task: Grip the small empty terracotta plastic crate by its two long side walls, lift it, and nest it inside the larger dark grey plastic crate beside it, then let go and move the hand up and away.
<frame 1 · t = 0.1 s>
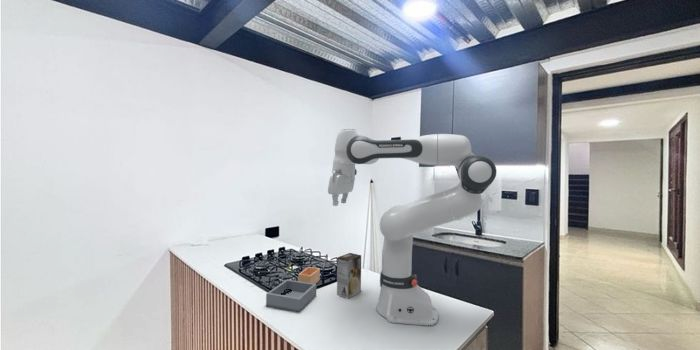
hand: (339, 204, 113), 39 cm above the counter, tool pointing down, fingers open, 8 cm apart
grey crate: (292, 301, 113), on the counter
coffee box: (348, 294, 121), on the counter
orange crate: (309, 284, 130), on the counter
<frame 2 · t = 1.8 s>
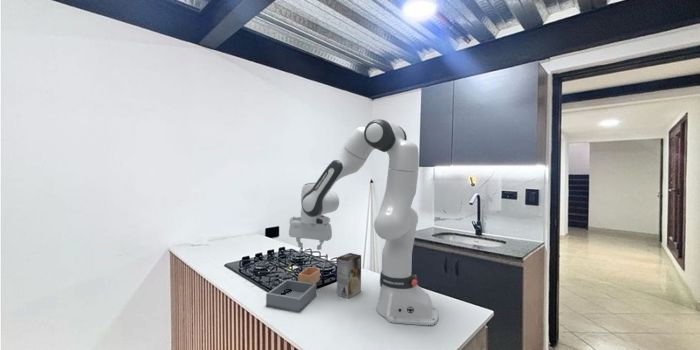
hand: (309, 248, 129), 16 cm above the counter, tool pointing down, fingers open, 8 cm apart
nothing on the counter moved.
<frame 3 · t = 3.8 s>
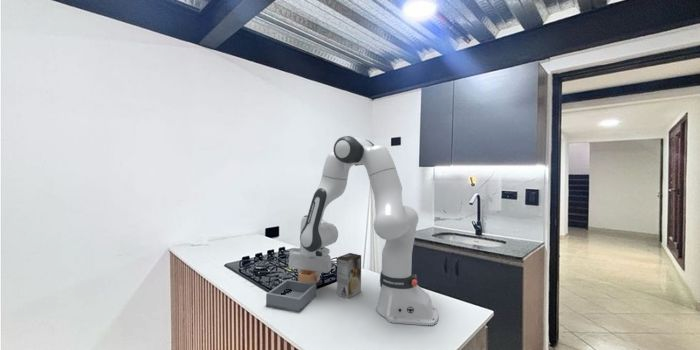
hand: (309, 279, 129), 2 cm above the counter, tool pointing down, fingers closed on orange crate, 6 cm apart
orange crate: (309, 284, 130), on the counter, touching gripper
everything else where it was.
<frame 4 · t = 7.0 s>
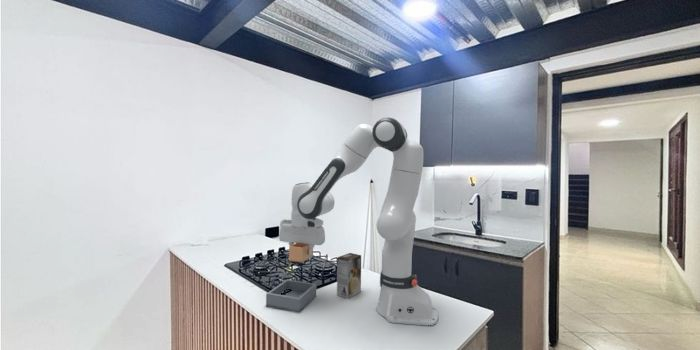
hand: (301, 253, 120), 17 cm above the counter, tool pointing down, fingers closed on orange crate, 6 cm apart
orange crate: (301, 258, 120), point 15 cm above the counter, touching gripper
everything else where it was.
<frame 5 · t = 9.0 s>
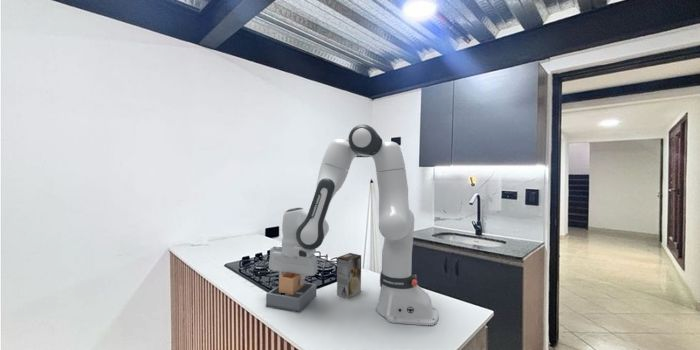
hand: (292, 283, 113), 7 cm above the counter, tool pointing down, fingers closed on orange crate, 6 cm apart
orange crate: (292, 288, 113), point 5 cm above the counter, touching gripper
everything else where it was.
when the fingers open (5 cm above the counter, at t = 10.3 s): orange crate drops 1 cm, resting on grey crate.
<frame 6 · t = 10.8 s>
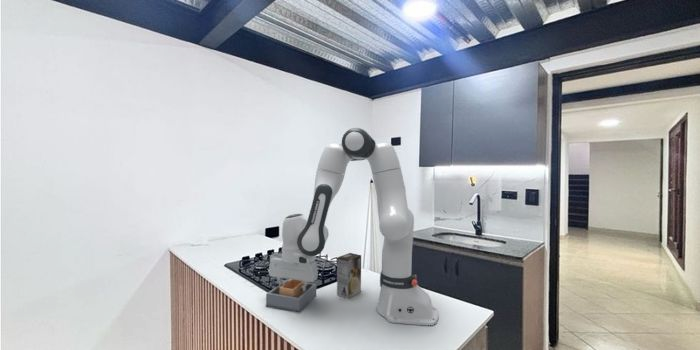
hand: (292, 289, 112), 5 cm above the counter, tool pointing down, fingers open, 8 cm apart
orange crate: (292, 298, 113), point 1 cm above the counter, touching grey crate
everything else where it was.
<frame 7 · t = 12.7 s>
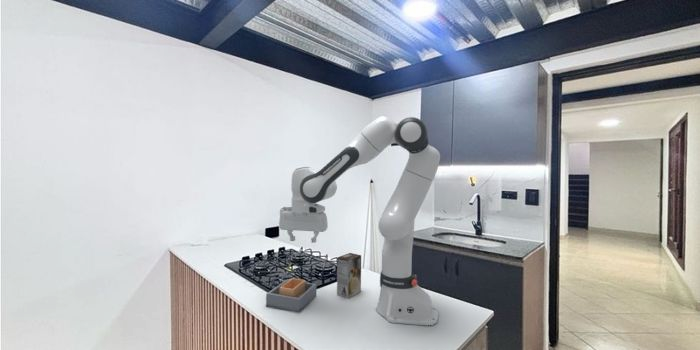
hand: (303, 241, 114), 23 cm above the counter, tool pointing down, fingers open, 8 cm apart
nothing on the counter moved.
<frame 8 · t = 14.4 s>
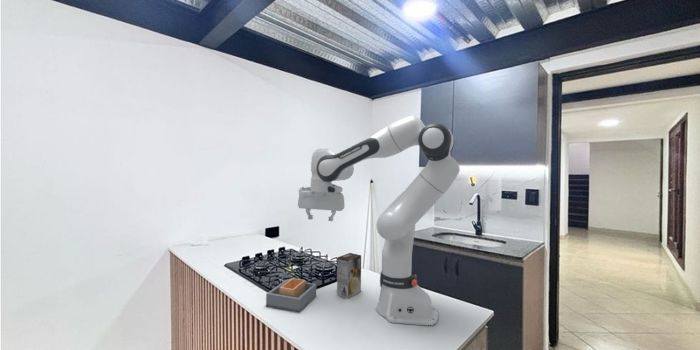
hand: (320, 220, 120), 31 cm above the counter, tool pointing down, fingers open, 8 cm apart
nothing on the counter moved.
at the end: orange crate 0.1 cm off-centre on the grey crate, point 1.0 cm above the grey crate's base; orange crate tilted 0°; the gripper is holding nothing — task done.
